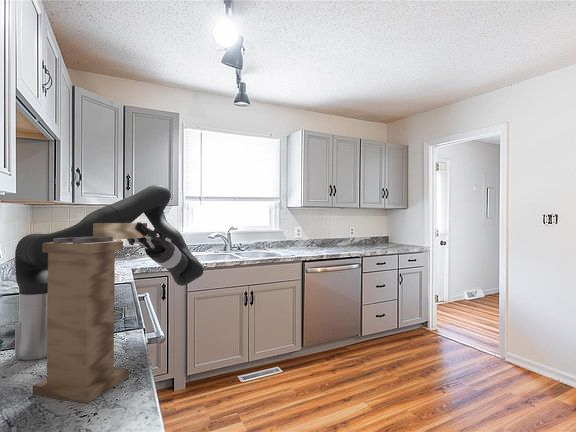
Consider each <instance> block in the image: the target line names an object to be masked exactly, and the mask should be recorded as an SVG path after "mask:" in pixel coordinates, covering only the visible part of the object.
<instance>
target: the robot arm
mask: <svg viewBox="0 0 576 432" xmlns="http://www.w3.org/2000/svg"><path fill="white" fill-rule="evenodd" d="M171 194H172V193H171V192H170V190H169V188H167V187H166V186H164V185H163V184H162V185H161V184H152V185H149V186H146V187H145V188H144V189H142V190H140V191H138V192H137V193H134V194H133V195H131V196H128V197H125V198H123V199H120V200H118V201H115V202H114V203H111V204H108V205H105V206H103V207H101V208H100V207H99V208H98V209H96V210H94V211H91V212H90V213H88V214H87V215H86V216H84V217H83V218H82V219H81V220H79V222H77V223H76V224H73V225H71V226H69V227H67V228H64V229H61V230H58V231H54V232H50V233H49V232H48V233H30V234H27V235H25V236H23V237H21V239H20V240H19V241H18V242H17V245H16V248H15V251H14V252H15V253H14V263H15V264H14V265H15V280H16V284H17V286H18V321H17V322H16V323H15V324H14V325H15V326H14V360H23V361H33V360H39V359H44V358H47V311H48V253H46V252H42V243H51V242H53V239H55V238H74V237H93V223H134V221H135V220H137V219H138V218H139V217H140V216H142V214H144V216H145V217H146V218H147V220H148V221H149V222H150V224H151V226H152V227H153V230H152V228H149V227H148V226H147V227H146V226H145V225H143V224H142V223H143V222H140V221H137V222H136V223H137V225H136V227H135V229H136V230H137V231H138V232H139V233H141V234H142V235H145V236H144V237H145V238H130V239H126V240H127V242H128V244H129V245H131V246H134V245H135V244H138V245H139V246H140V247H141V248H143V249H144V251H145V255H146V256H147V257H148V258H149V259H151V260H152V261H154V262H155V263H157V264H158V265H159V266H161V267H163V268H164V269H166V270H167V271H168V272H169V273H170V275H171V276H172V278H173V281H174V283H175V284H177V286H180V287H181V286H183V287H184V286H186V285H188V284H190V283H192V282H194V281H195V280H197V279H199V278H200V277H201V276H203V274H204V267H203V264H202V263H201V262H200V261H199V260H198V259H197V258H196V257H195V256H194V255H193V253H192V252H191V251H190V250H189V248H188V245H187V243H186V241H185V240H184V239H185V238H184V237H183V235H182V234H181V233H180V231H179V230H178V229H176V228H175V227H174V226H173V225H171V224H170V223H169V222H168V220H167V217H166V215H165V212H164V210H165V209H166V208H167V207H168V204H169V202H170V201H171Z"/></svg>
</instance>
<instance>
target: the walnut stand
mask: <svg viewBox="0 0 576 432" xmlns="http://www.w3.org/2000/svg"><path fill="white" fill-rule="evenodd" d="M123 250H124V241H123V240H120V241H119V240H113V237H96V238H93V237H74V238H55V239H53V242H51V243H42V252H46V253H48V311H47V357H46V379H43V380H40V381H39V382H37V383H34V384H32V396H36V397H44V398H50V399H56V400H57V399H58V400H64V401H71V402H77V403H83V404H89V403H91V402H92V401H93V400H95V399H97V398H98V397H100V396H101V395H103V394H104V393H106V392H107V391H109V390H111V389H113V388H114V387H115V386H118V385H119V384H121V383H122V382H123V381H125V380H126V379H127V378H129V377H130V375H129V374H130V373H129V372H130V371H129V370H130V369H129V368H128V367H122V366H121V367H118V366H115V282H116V281H115V280H116V279H115V277H116V276H115V274H116V273H115V271H116V270H115V269H116V268H115V267H116V263H115V260H116V254H115V253H116V251H123Z"/></svg>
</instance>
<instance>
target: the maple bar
mask: <svg viewBox="0 0 576 432" xmlns="http://www.w3.org/2000/svg"><path fill="white" fill-rule="evenodd" d="M141 223H142V224H143V225H145V226H146V227H147V228H148V223H147V222H141ZM136 225H137V222H132V223H93V238H96V237H113V241H117V240H127V239H130V238H145V237H144V236H145V235H142V234H141V233H139V232H138V231H137V230H136V229H135V227H136Z"/></svg>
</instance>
